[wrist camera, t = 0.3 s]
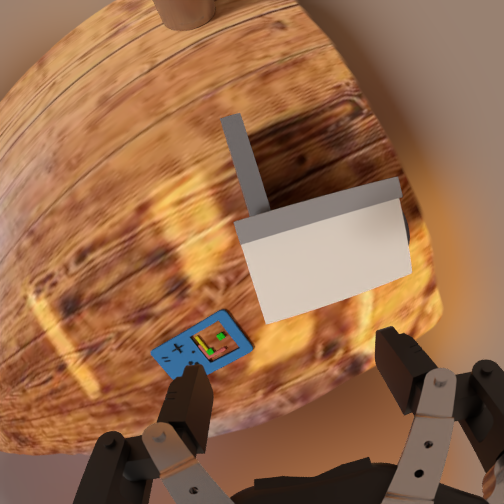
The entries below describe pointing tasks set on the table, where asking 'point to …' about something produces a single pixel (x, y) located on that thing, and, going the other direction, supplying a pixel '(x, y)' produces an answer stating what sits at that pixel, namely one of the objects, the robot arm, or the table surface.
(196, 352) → the handheld gaming device
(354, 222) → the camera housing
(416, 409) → the robot arm
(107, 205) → the table surface
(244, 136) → the side door
